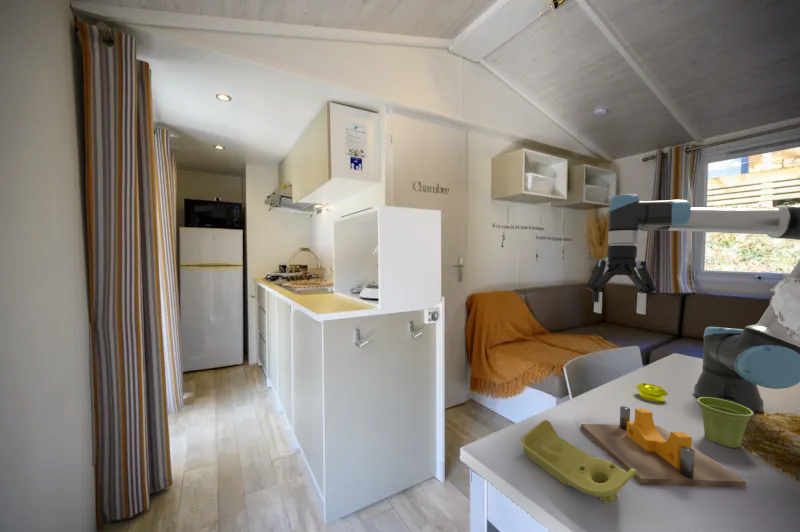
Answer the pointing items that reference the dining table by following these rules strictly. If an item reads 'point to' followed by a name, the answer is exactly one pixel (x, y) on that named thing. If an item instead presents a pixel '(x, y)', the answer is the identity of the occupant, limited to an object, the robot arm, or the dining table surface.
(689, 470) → the locating stubs
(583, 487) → the plastic component
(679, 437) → the pipe clamp
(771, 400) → the dining table surface
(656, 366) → the dining table surface
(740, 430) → the plant pot
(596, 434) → the base plate
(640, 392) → the gear
